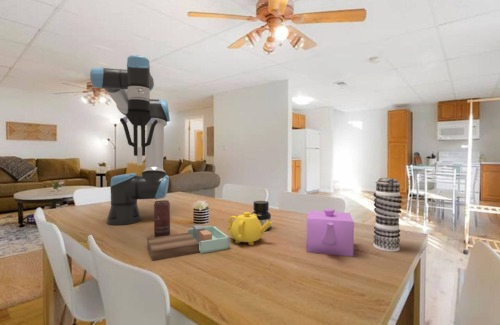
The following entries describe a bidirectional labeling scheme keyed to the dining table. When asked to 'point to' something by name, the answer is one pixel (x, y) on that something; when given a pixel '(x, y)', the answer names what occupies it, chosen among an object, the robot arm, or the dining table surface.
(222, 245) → the tray
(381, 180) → the decorative candle
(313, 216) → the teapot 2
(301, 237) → the dining table surface
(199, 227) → the grey square block
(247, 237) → the teapot
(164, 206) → the can
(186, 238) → the plate
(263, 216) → the ink bottle
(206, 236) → the terracotta tile
